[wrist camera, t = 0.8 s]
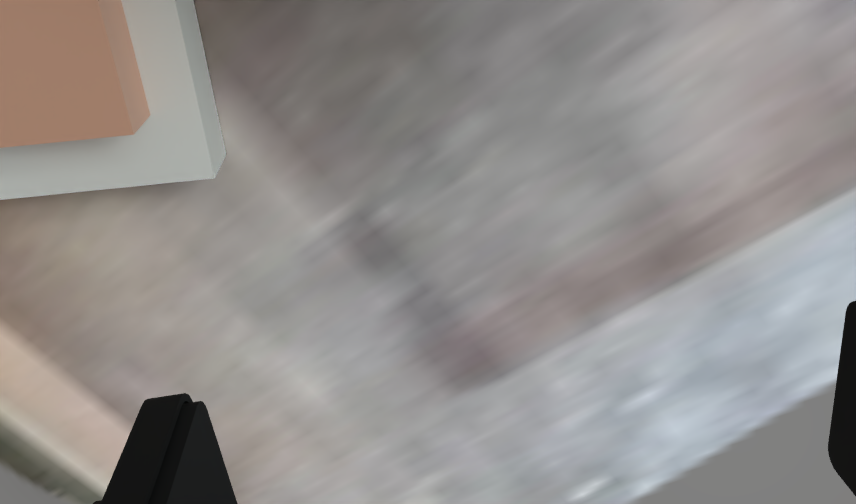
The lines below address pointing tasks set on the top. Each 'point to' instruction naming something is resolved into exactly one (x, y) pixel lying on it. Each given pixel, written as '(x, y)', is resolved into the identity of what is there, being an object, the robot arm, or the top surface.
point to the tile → (67, 72)
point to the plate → (158, 136)
